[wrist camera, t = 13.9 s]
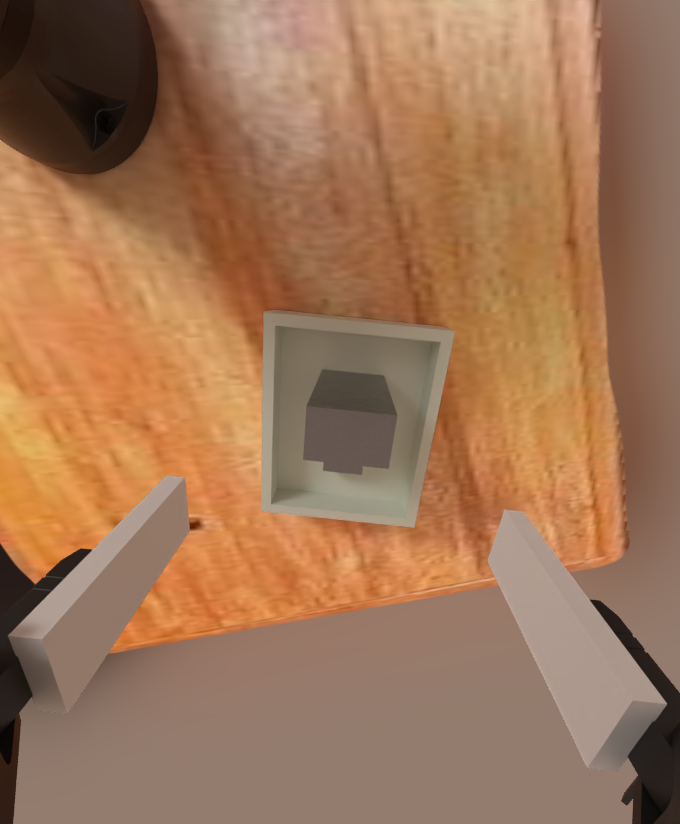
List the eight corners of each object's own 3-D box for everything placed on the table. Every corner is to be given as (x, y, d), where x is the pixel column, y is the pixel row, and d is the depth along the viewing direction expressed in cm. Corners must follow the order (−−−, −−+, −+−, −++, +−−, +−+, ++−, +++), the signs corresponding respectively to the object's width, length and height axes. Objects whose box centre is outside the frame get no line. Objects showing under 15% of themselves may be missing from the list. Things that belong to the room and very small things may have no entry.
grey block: (322, 369, 32) (306, 406, 22) (384, 375, 32) (397, 415, 22) (315, 460, 35) (298, 529, 25) (370, 466, 35) (377, 538, 25)
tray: (274, 309, 31) (263, 311, 28) (443, 326, 31) (455, 331, 27) (270, 489, 38) (261, 511, 34) (408, 504, 38) (414, 527, 34)
